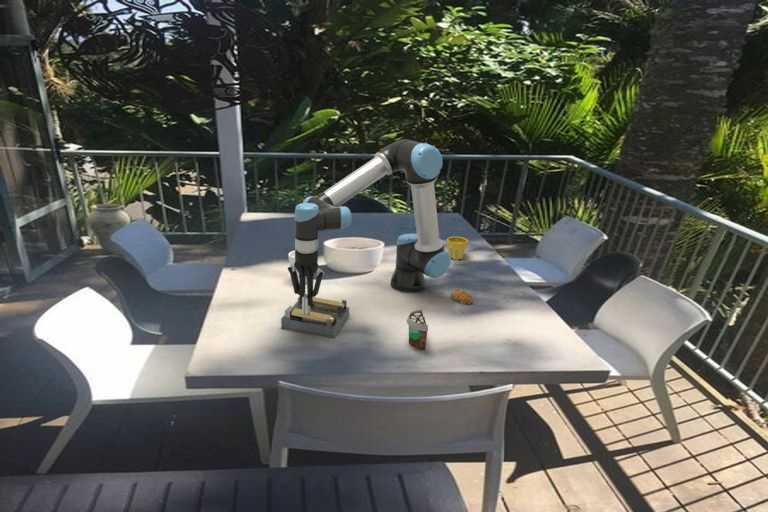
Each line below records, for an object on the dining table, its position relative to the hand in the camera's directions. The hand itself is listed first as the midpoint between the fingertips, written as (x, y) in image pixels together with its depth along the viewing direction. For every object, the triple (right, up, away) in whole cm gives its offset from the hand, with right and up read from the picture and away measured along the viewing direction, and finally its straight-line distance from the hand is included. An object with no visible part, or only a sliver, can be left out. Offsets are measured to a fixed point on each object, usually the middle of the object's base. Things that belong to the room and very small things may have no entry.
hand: (306, 312), depth 170 cm
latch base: (+3, -4, +7) cm, 9 cm away
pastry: (+60, +1, +31) cm, 67 cm away
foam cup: (-9, +8, +40) cm, 42 cm away
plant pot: (+64, +19, +76) cm, 101 cm away
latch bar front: (+2, -2, 0) cm, 3 cm away
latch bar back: (+5, +2, +10) cm, 12 cm away
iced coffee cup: (+38, -10, -3) cm, 39 cm away
